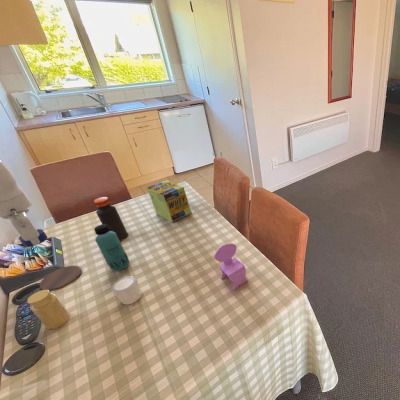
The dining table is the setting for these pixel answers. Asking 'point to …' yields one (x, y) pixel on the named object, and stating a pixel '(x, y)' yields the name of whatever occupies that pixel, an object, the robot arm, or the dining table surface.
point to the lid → (41, 237)
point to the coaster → (60, 278)
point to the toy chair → (231, 264)
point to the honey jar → (48, 309)
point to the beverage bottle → (111, 248)
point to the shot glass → (127, 290)
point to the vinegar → (110, 217)
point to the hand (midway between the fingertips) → (34, 239)
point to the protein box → (169, 200)
